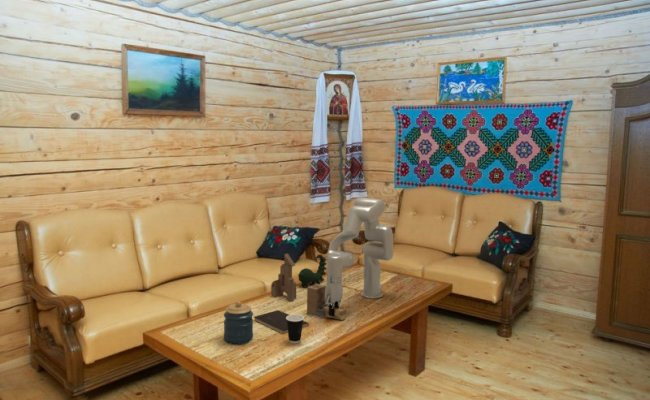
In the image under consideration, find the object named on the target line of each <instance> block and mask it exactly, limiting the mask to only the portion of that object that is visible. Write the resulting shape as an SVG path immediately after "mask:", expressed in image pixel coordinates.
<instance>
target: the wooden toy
mask: <svg viewBox="0 0 650 400" xmlns="http://www.w3.org/2000/svg"><path fill="white" fill-rule="evenodd" d="M294 266H296V264H295V262H294V261H293V260H292V258H291V256H290V254H289V253H284V262H283V263H282V264H281V265H280V268H279V272H280V273H278V275H277V276H278V278H277V279H276V280H272V282H271V288H270V289H271V294H270V296H271V297H274V298H276V297H281V296H282V295H284V293H285V294H286V296H287V301H288V302H293V301H294V300H295V299H297V282H296V281H295V279H294V278H293V267H294Z"/></svg>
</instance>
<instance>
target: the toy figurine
mask: <svg viewBox="0 0 650 400" xmlns="http://www.w3.org/2000/svg"><path fill="white" fill-rule="evenodd" d="M315 259H316V260H317V259H319V262H318V267H317V268H318V269H317V270H316V272H313V270H312V269H310V268H303V269H301V270H300V271H299V273H298V275H297V277H298V281H299V282H300V283H301V287H303V288H307V287H309V284H311V285H315V284H320V283H321V282H323V281H324V278H323V276H325V275H327V272H325V270H326V271H327V263H328V262H326V261H327V258H325V257H324V256H323V255H322V254H319V253H318V254H317V255H316V257H315ZM320 285H321V284H320Z"/></svg>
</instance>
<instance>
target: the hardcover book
mask: <svg viewBox="0 0 650 400" xmlns="http://www.w3.org/2000/svg"><path fill="white" fill-rule="evenodd" d="M289 315H290V314H288V313H286V312H283V311H282V310H279V309H277V310H273V311H270V312H267V313H263V314H259V315H256V316H255V315H254V316H253V318H254V321H255V322H258V324H260V325H261V324H262V325H264V326H265V327H267V328H270V329H272V330H275V331H277V332H278V333H281V334H282V335H283V334H288V328H287V319H286V317H287V316H289ZM308 326H309V322H308V321H305V320H303V325H302V329H303V328H306V327H308Z"/></svg>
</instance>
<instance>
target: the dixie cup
mask: <svg viewBox="0 0 650 400" xmlns="http://www.w3.org/2000/svg"><path fill="white" fill-rule="evenodd" d="M304 318H305V317H304V316H303V315H300V314H289V316H287V317H286V319H287V328H288V332H287V336H288V340H289V342H288V343H290V344H299V343H300V342H301V340H302V339H301V338H302V331H303V328H302V325H303V321H304Z"/></svg>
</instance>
